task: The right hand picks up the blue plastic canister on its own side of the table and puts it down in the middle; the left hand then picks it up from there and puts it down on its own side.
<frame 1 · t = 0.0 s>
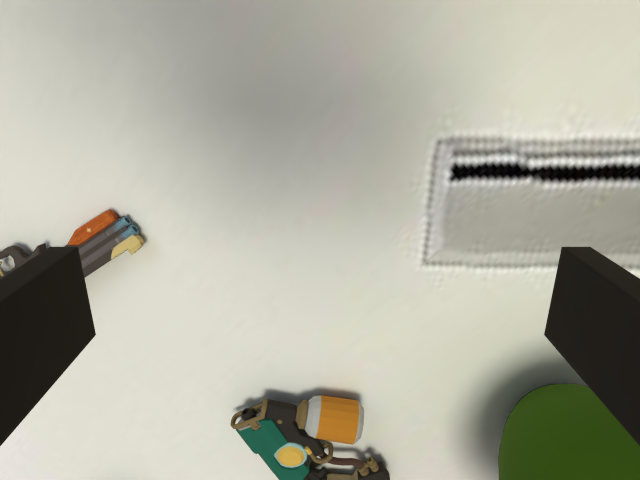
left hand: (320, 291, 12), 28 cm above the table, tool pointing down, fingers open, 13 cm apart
toy gun: (38, 249, 42), on the table
spray gun: (314, 442, 50), on the table
vase: (547, 412, 49), on the table
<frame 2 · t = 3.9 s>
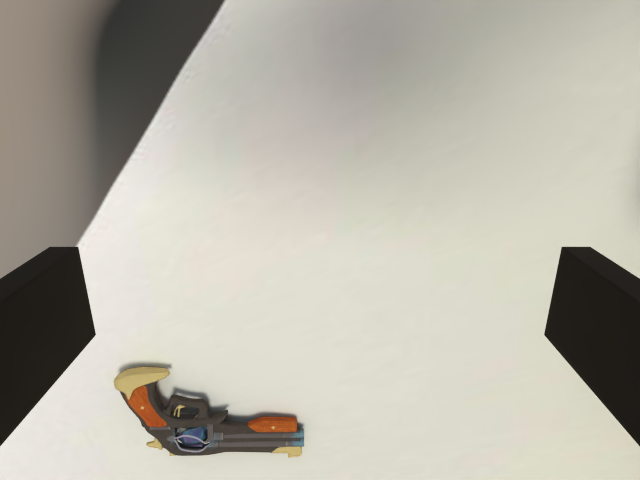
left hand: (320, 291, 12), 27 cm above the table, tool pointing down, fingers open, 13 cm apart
toy gun: (215, 405, 47), on the table
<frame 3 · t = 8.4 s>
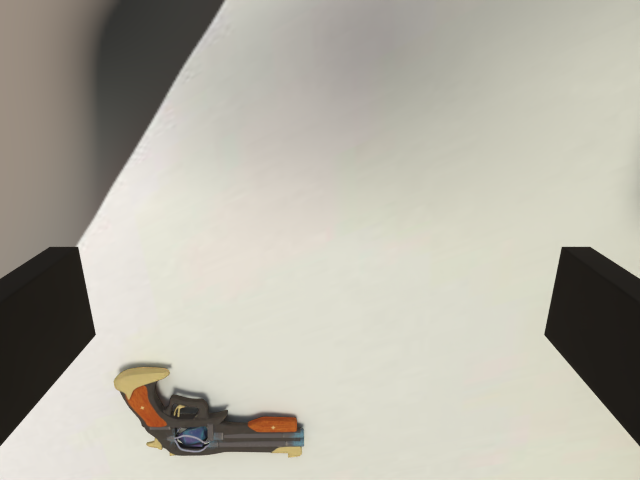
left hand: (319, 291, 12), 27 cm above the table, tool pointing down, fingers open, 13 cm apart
toy gun: (215, 405, 47), on the table
when the right hand's fingers open (5 cm above the table, at t = 12.8 s): canister drops 2 cm, on the table.
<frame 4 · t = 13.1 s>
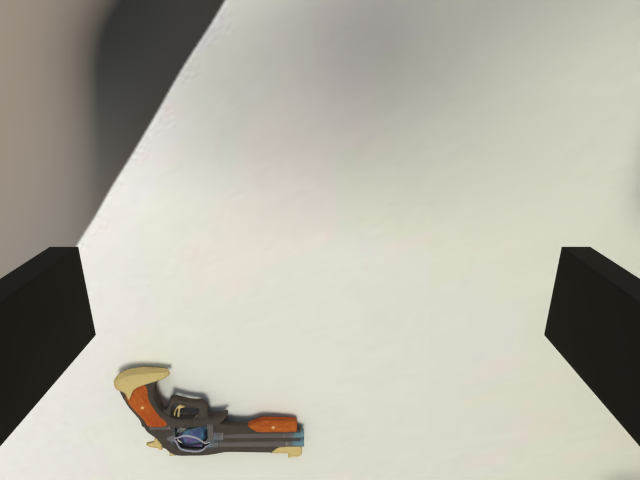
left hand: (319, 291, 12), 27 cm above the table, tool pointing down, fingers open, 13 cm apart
toy gun: (215, 405, 47), on the table
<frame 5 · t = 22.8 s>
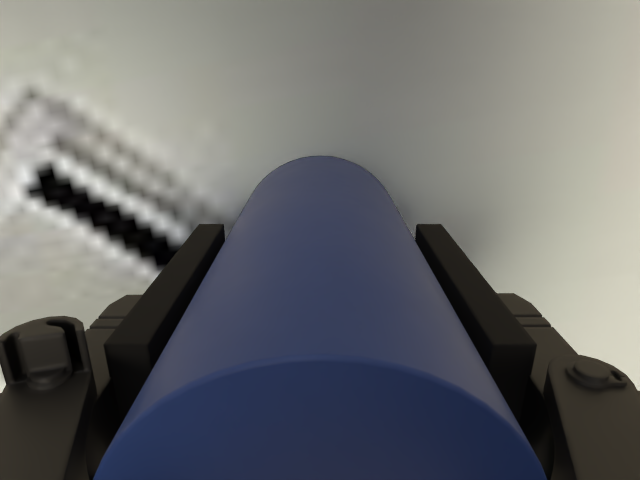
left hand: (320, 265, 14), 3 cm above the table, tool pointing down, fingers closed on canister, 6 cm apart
canister: (320, 233, 17), on the table, touching left hand
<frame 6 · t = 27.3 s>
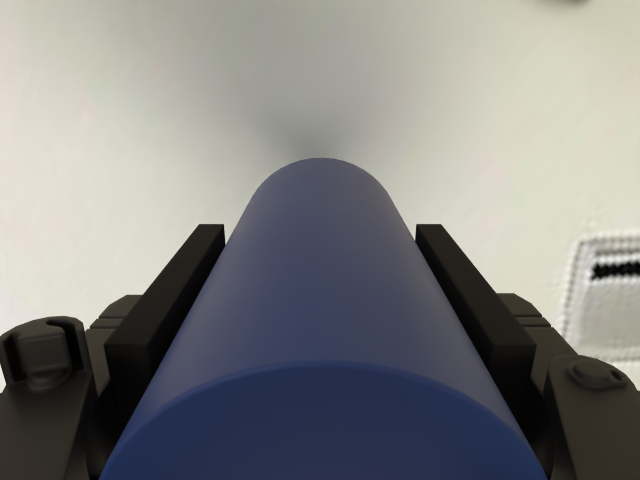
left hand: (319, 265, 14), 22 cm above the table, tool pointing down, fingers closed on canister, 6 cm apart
canister: (321, 235, 17), point 19 cm above the table, touching left hand
when the left hand's fingers open (5 cm above the table, at t = 31.8 s): canister drops 2 cm, on the table.
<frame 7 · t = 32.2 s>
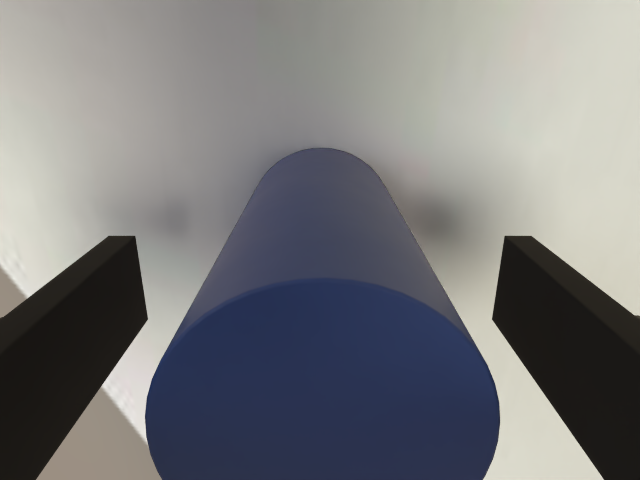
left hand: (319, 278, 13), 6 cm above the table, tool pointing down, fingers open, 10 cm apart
canister: (321, 218, 19), on the table
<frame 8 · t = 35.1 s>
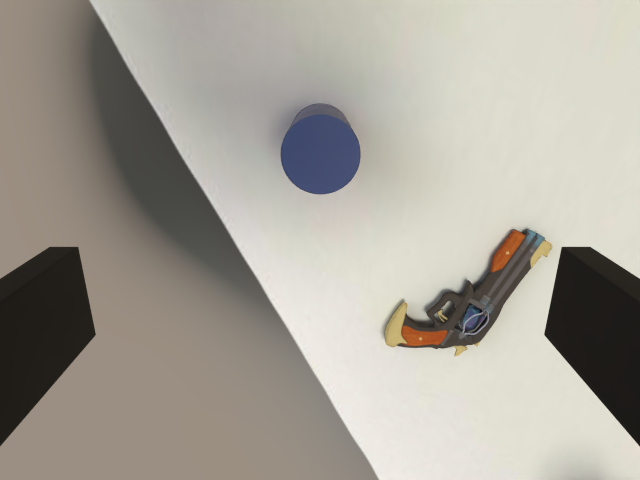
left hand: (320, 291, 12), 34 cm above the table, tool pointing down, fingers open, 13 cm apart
canister: (320, 134, 45), on the table
toy gun: (459, 288, 51), on the table
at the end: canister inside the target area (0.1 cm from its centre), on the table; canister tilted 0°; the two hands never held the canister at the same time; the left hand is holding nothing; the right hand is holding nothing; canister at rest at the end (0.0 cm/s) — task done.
